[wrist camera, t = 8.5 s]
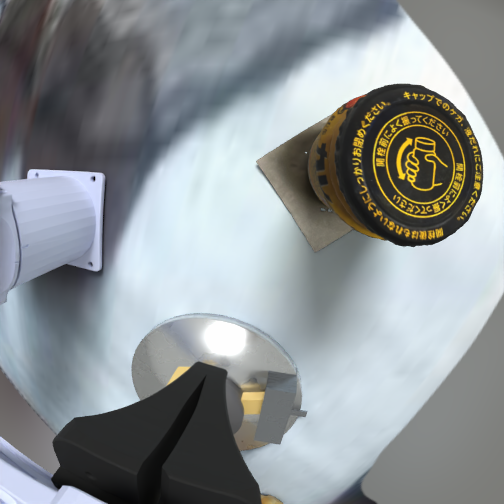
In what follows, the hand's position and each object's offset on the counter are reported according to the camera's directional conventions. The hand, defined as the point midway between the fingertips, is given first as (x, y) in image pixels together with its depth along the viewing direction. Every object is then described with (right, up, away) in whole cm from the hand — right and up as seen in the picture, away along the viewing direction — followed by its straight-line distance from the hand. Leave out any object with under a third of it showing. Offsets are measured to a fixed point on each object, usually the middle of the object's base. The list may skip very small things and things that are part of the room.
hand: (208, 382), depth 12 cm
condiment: (+8, +11, +7) cm, 15 cm away
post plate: (-1, -6, +13) cm, 14 cm away
